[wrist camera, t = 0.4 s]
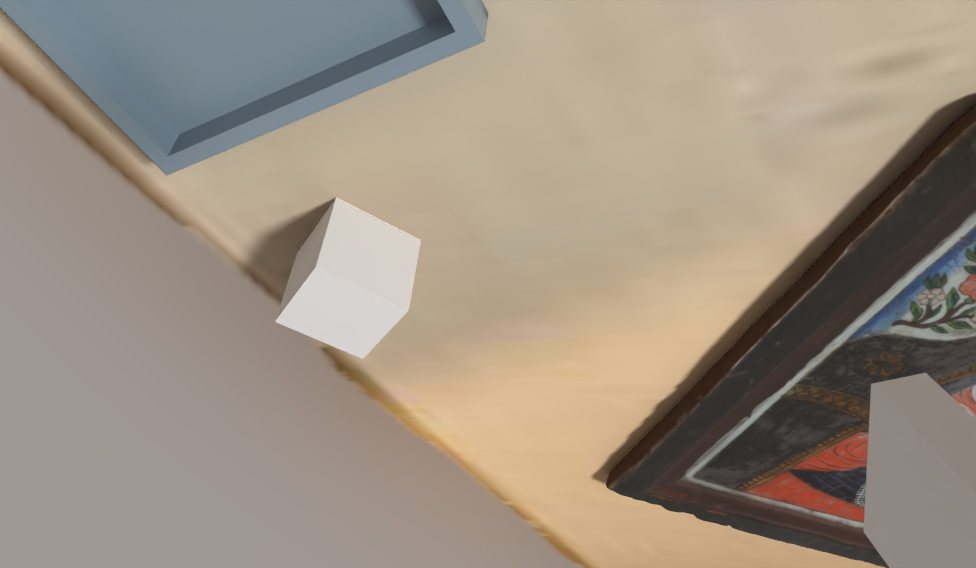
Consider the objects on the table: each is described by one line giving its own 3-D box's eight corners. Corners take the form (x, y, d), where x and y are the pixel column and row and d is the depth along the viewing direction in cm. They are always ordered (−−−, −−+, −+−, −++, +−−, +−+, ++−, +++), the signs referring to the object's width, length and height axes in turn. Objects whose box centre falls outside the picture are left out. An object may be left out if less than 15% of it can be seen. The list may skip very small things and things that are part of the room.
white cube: (297, 251, 53) (274, 321, 48) (336, 195, 49) (314, 266, 45) (378, 289, 55) (362, 359, 51) (421, 239, 51) (408, 310, 47)
